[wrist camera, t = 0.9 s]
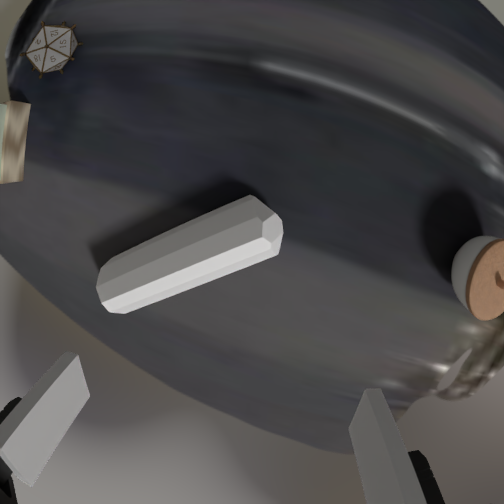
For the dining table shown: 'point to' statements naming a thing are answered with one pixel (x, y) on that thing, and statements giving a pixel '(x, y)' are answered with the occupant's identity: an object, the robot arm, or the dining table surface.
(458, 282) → the lidded jar
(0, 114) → the tower top block
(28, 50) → the game die
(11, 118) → the tower base block
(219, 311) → the dining table surface
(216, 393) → the dining table surface
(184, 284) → the chamfered grey bar
